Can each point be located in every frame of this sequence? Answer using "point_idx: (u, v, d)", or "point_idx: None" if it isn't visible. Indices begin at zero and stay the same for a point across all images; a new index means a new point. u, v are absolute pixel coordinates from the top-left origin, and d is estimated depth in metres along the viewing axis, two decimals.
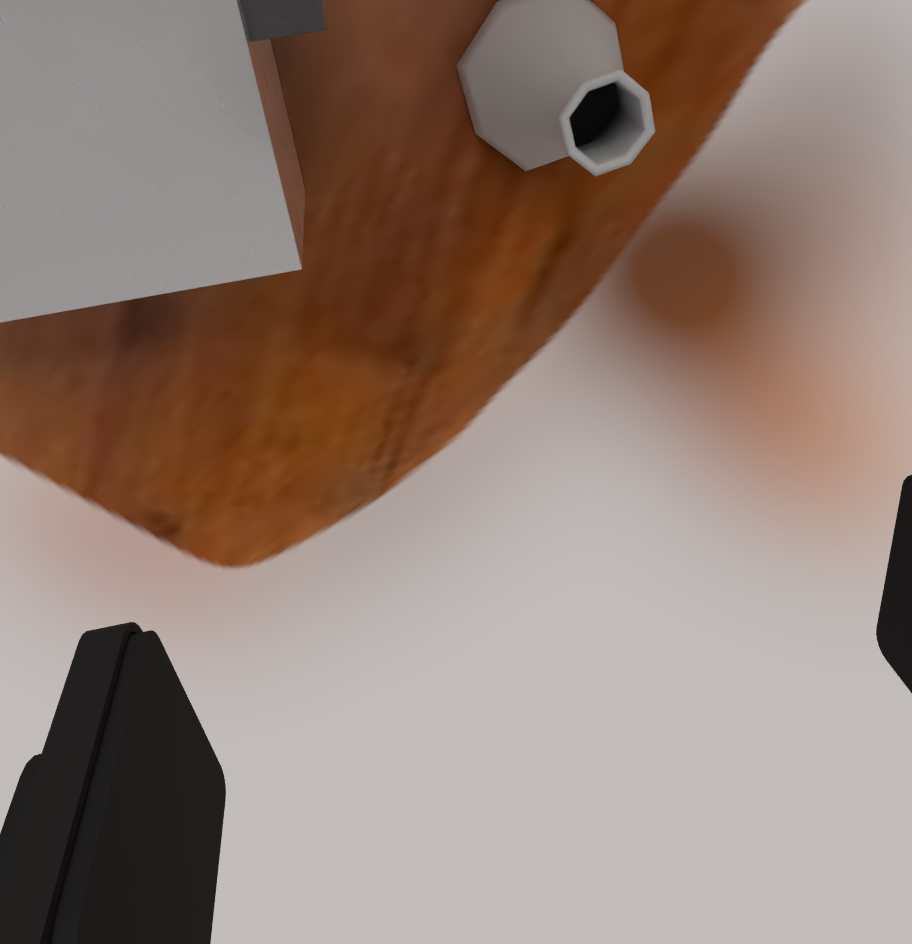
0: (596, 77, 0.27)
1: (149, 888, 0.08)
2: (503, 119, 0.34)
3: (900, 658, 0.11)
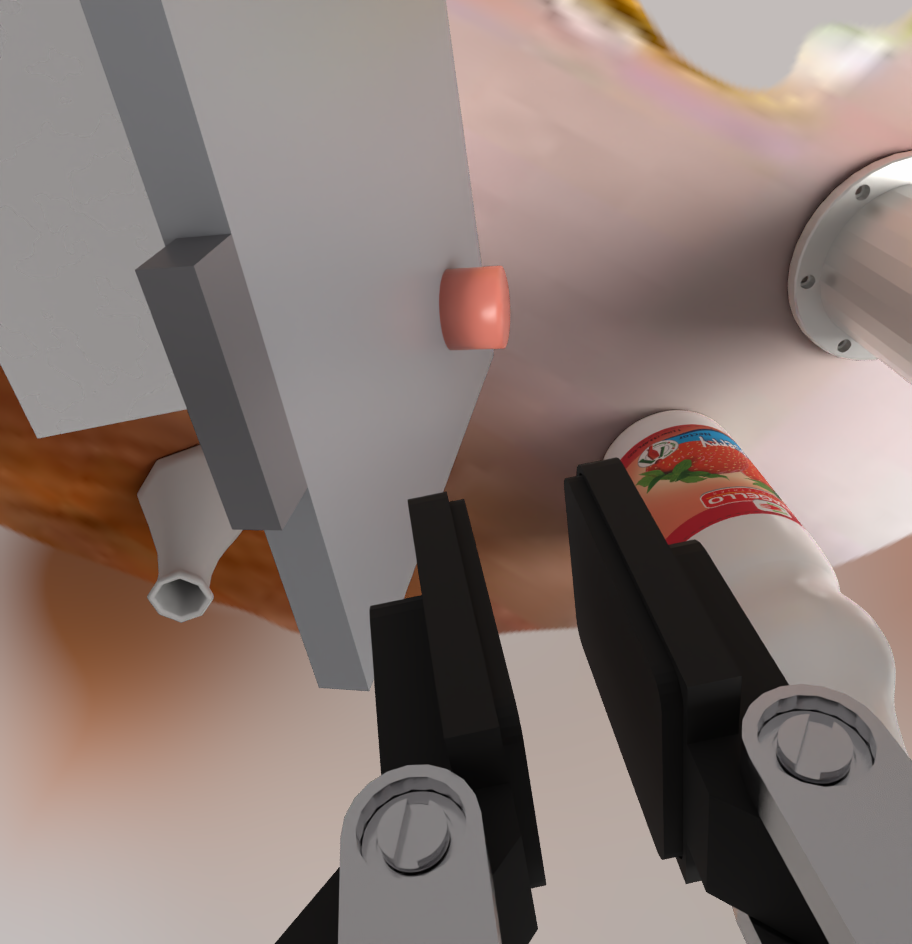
0: (206, 587, 0.45)
1: None
2: (170, 494, 0.50)
3: (586, 646, 0.12)
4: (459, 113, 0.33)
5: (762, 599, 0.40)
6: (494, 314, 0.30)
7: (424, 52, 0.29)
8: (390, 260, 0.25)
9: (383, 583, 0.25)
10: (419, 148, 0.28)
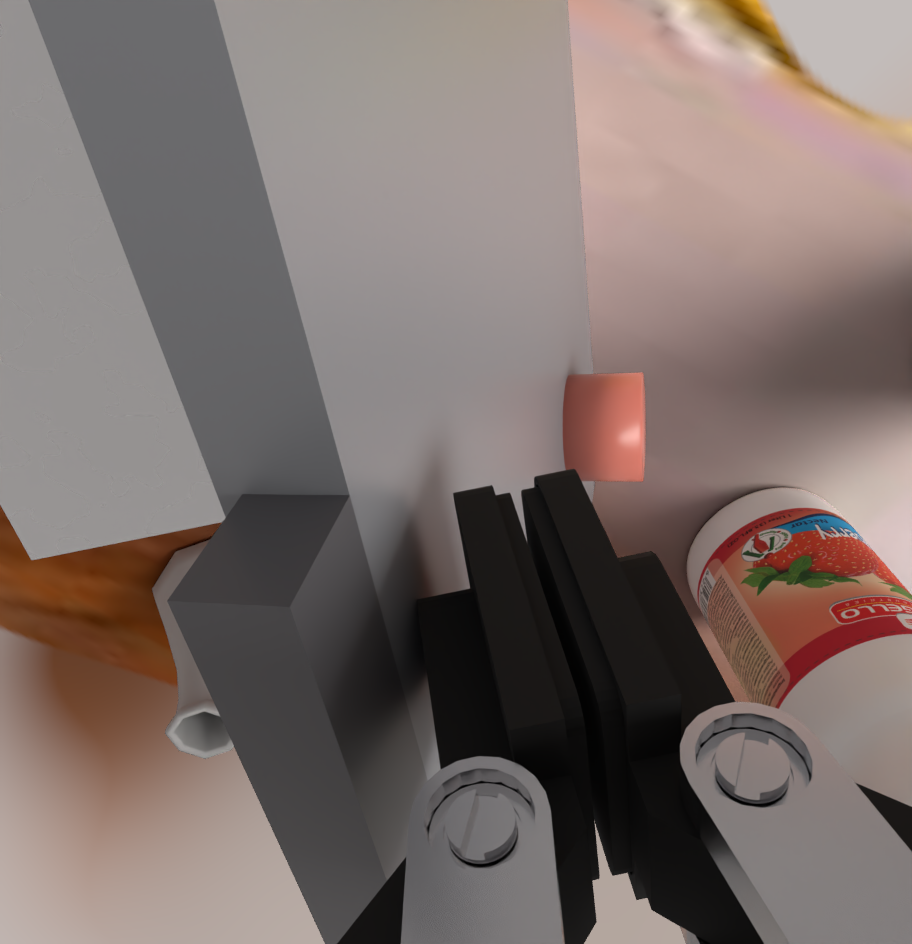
0: None
1: None
2: None
3: None
4: (577, 164, 0.25)
5: None
6: (639, 443, 0.22)
7: (552, 90, 0.21)
8: (524, 400, 0.17)
9: None
10: (548, 226, 0.20)
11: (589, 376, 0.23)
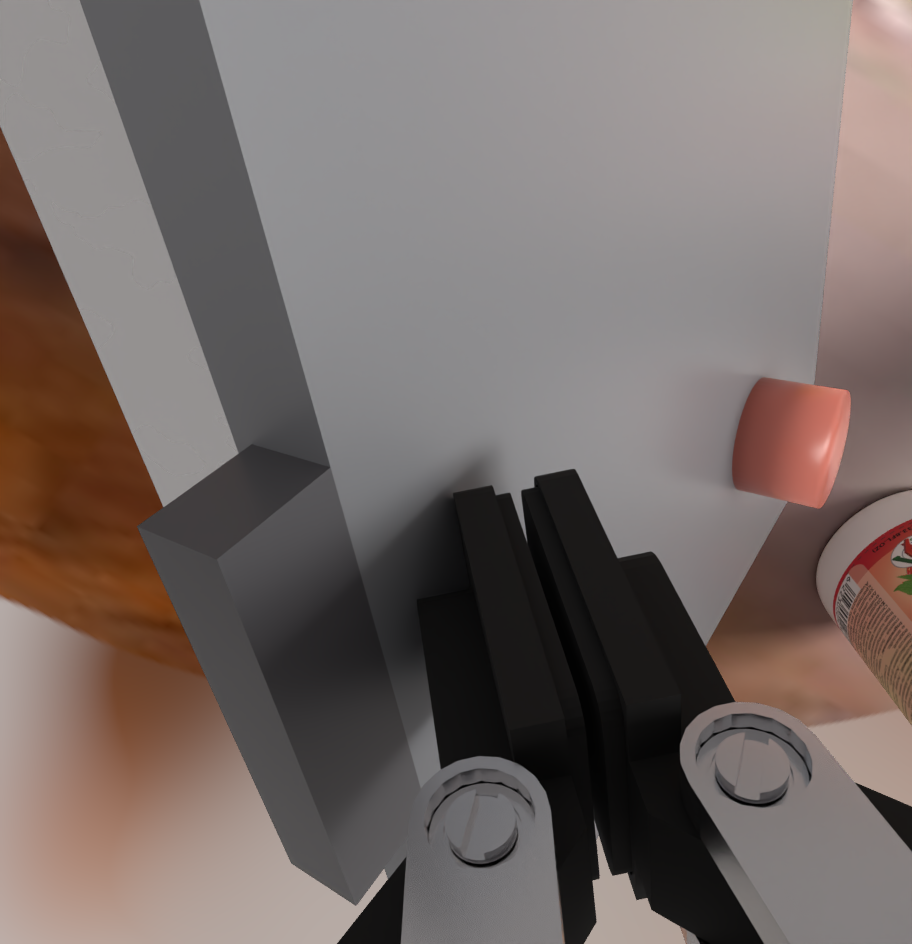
0: None
1: None
2: None
3: None
4: (835, 145, 0.23)
5: None
6: (817, 467, 0.20)
7: (801, 62, 0.19)
8: (666, 399, 0.16)
9: None
10: (756, 214, 0.18)
11: (783, 383, 0.21)
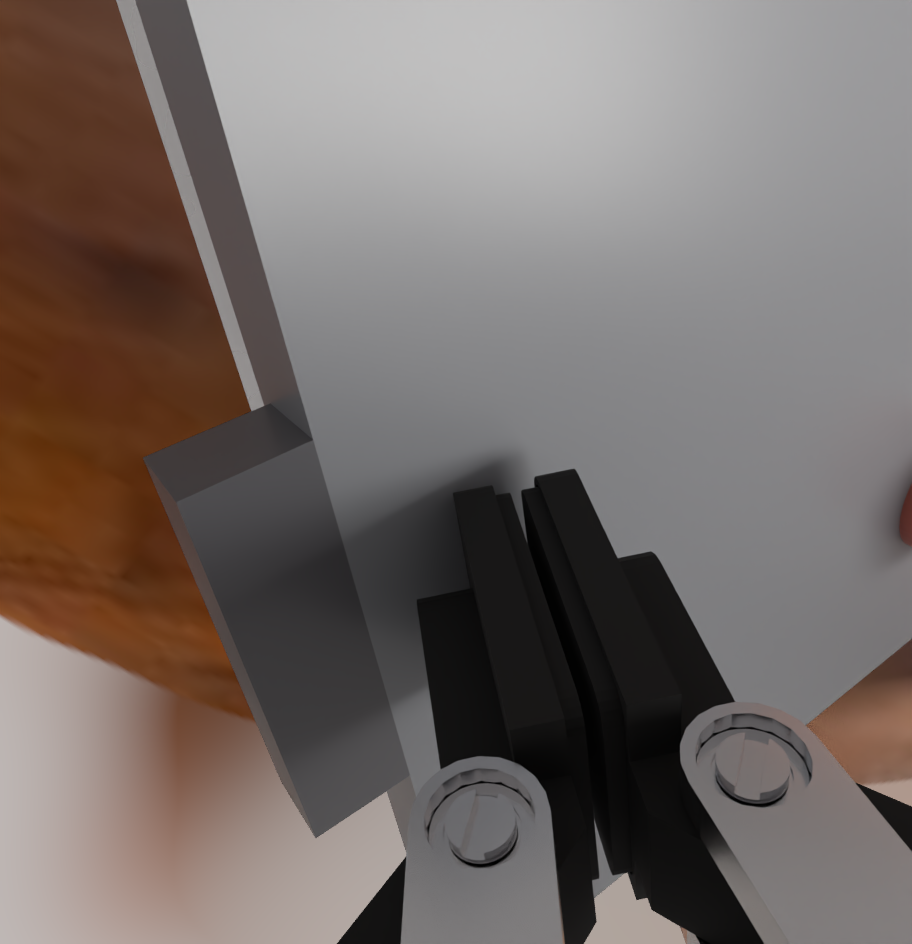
0: None
1: None
2: None
3: None
4: None
5: None
6: None
7: None
8: (796, 431, 0.15)
9: None
10: None
11: None
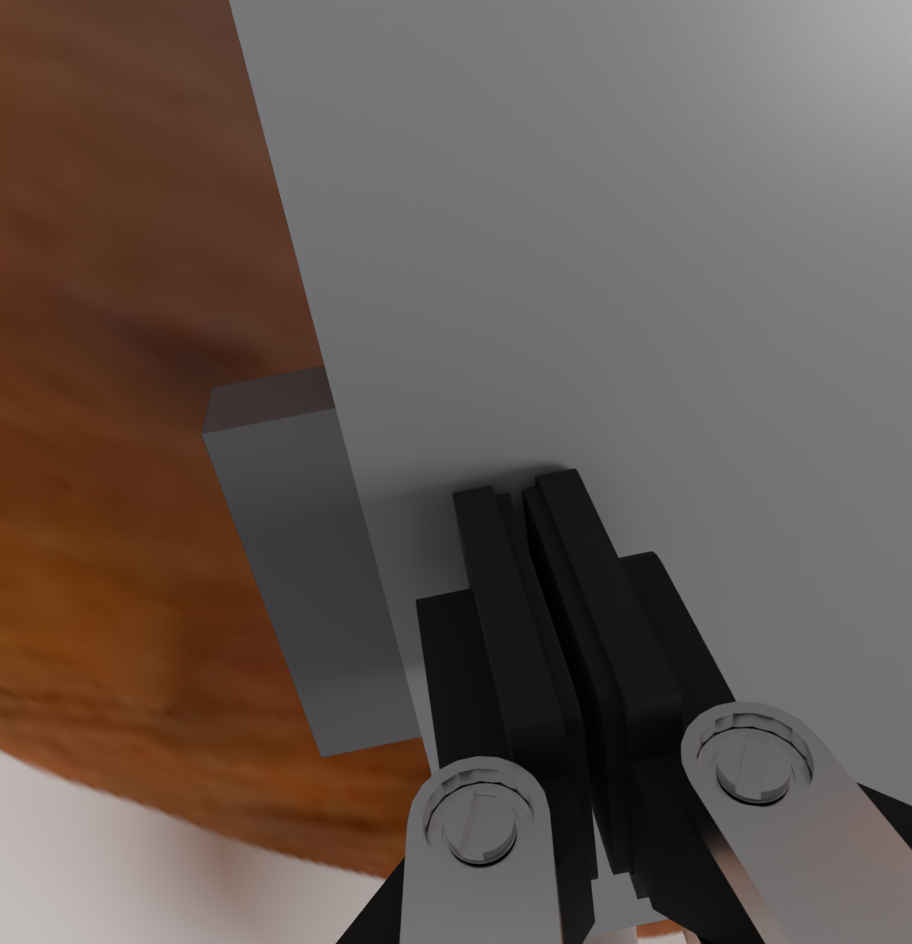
0: None
1: None
2: None
3: None
4: None
5: None
6: None
7: None
8: None
9: (600, 888, 0.16)
10: None
11: None
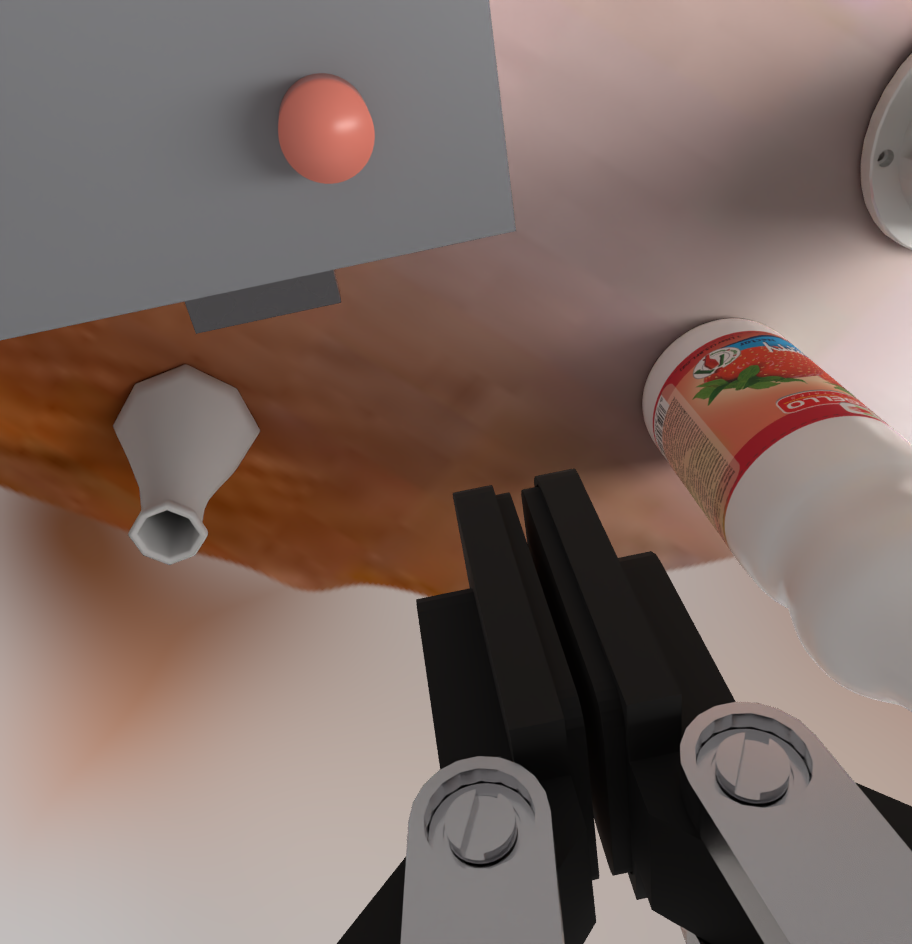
0: (198, 521, 0.38)
1: None
2: (152, 420, 0.42)
3: None
4: None
5: (871, 507, 0.34)
6: (279, 131, 0.26)
7: None
8: (114, 17, 0.26)
9: (25, 287, 0.30)
10: None
11: (322, 75, 0.27)
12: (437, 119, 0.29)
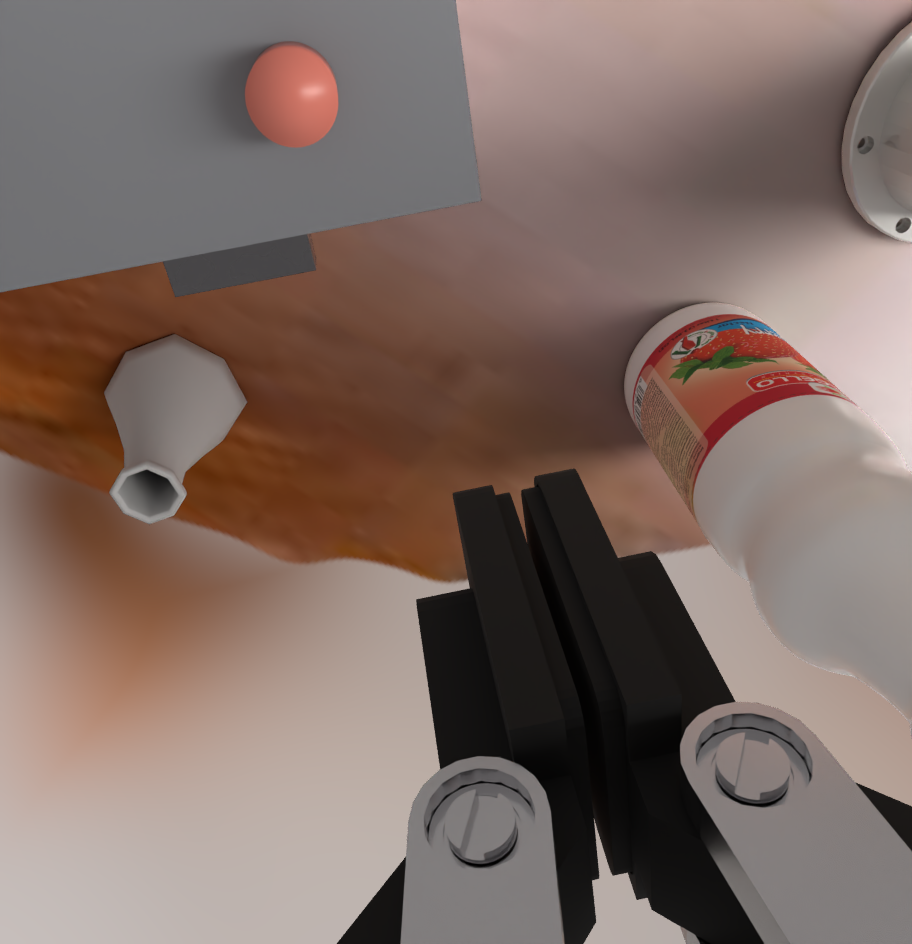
0: (177, 482, 0.39)
1: None
2: (139, 386, 0.44)
3: None
4: None
5: (828, 480, 0.34)
6: (246, 95, 0.28)
7: None
8: None
9: (7, 244, 0.31)
10: None
11: (290, 43, 0.28)
12: (403, 88, 0.30)
